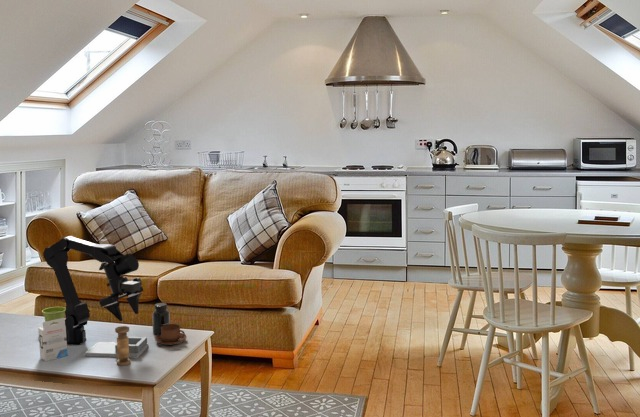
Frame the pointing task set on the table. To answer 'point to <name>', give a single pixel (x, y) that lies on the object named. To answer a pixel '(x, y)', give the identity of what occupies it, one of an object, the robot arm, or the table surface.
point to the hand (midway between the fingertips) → (129, 317)
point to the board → (110, 348)
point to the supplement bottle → (160, 317)
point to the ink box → (52, 340)
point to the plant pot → (53, 313)
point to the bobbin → (122, 346)
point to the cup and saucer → (170, 335)
